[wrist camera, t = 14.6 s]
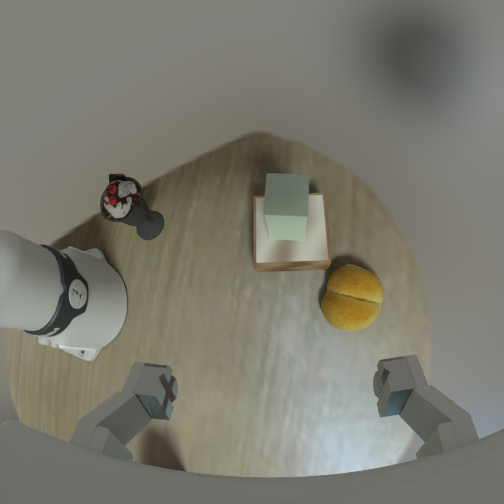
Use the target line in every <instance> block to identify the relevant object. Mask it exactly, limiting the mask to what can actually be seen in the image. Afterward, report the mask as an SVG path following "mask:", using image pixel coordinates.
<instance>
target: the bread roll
mask: <svg viewBox="0 0 504 504" xmlns="http://www.w3.org/2000/svg"><path fill="white" fill-rule="evenodd" d="M382 301H383V286H382V283H381V281H380V279H379V278H378V277H376V276H375V275H374V274H373V273H371V272H370V271H368V270H367V269H363V268H361V267H358V266H355V265H352V264H347V265H345V266H343V267H340V268H338V269H336V270H335V271H334V272H333V273H332V275H331V276H330V278H329V280H328V283H327V291H326V294H325V295H324V297H323V299H322V301H321V310H322V312H323V315H324V316H325V318H326V319H327V321H328V322H329V323H330V324H331V325H332V326H333V327H334V328H335V329H337V330H340V331H343V332H356V331H360V330H363V329H365V328H366V327H368V326H369V325H371V324H372V323H373V322H374V321H375V319H376V318H377V317H378V315H379V313H380V311H381V307H382Z"/></svg>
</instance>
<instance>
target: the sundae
mask: <svg viewBox="0 0 504 504" xmlns="http://www.w3.org/2000/svg"><path fill="white" fill-rule="evenodd" d="M100 207H101V214H102V216H103V217H104V218H105V219H106V220H108V221H111V222H123V223H125V224H128V225H131V226H137V233H138V235H139V236H140V237H141V238H142V239H145V240H151V239H153V238H155V237H157V236H158V235H159V234H160V233H161V231H162V229H163V225H164V220H163V217H162V215H161V214H160V213H158V212H156V211H150V212H149V210H148V207H147V205H146V202H145V201H144V199H143V198H142V188H141V185H140V184H139V183H138V182H137V181H136V180H135V179H133V178H131V177H125V175H124V174H110V175H109V185H107V187H106V189H105V191H104V193H103V195H102V197H101V203H100Z"/></svg>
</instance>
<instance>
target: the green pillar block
mask: <svg viewBox="0 0 504 504" xmlns="http://www.w3.org/2000/svg"><path fill="white" fill-rule="evenodd" d="M308 207H309V175H303V174H276V173H267V174H266V186H265V198H264V210H263V212H264V215H265V219H266V223H267V228H268V233H269V237H270V239H276V240H295V241H305V233H306V225H307V217H308Z"/></svg>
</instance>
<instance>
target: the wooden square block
mask: <svg viewBox="0 0 504 504" xmlns="http://www.w3.org/2000/svg"><path fill="white" fill-rule="evenodd" d="M264 198H265V195H260V196H253V266H254V268H255V270H256V272H272V271H301V270H326V269H329V267H330V265H331V253H330V240H329V228H328V218H327V208H326V198H325V193H309V207H308V217H307V225H306V233H305V241H295V240H276V239H270V237H269V233H268V228H267V223H266V219H265V215H264V212H263V210H264Z"/></svg>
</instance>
